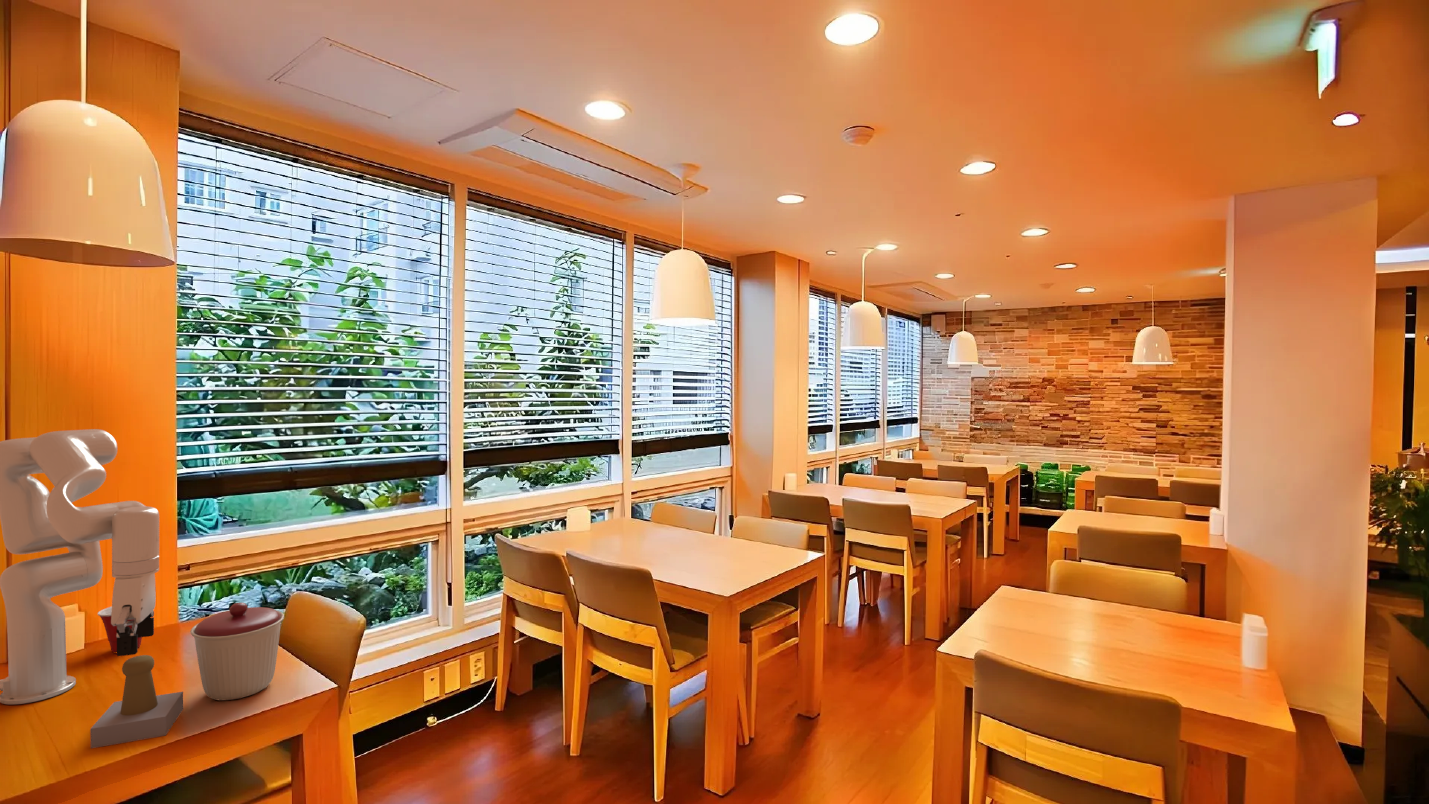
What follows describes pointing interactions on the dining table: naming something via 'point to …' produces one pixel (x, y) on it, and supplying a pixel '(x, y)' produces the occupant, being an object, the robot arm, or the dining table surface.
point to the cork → (138, 686)
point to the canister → (237, 650)
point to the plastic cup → (112, 628)
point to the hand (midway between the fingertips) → (136, 645)
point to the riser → (136, 722)
